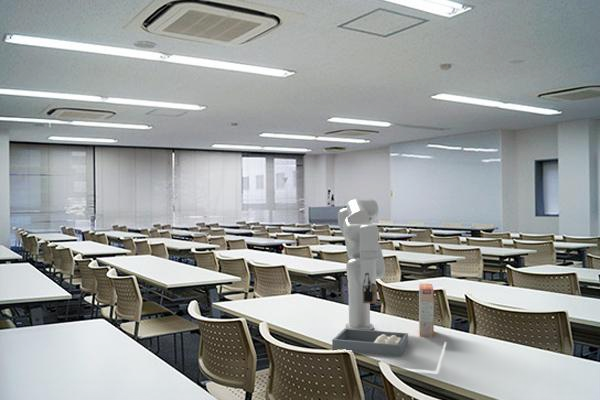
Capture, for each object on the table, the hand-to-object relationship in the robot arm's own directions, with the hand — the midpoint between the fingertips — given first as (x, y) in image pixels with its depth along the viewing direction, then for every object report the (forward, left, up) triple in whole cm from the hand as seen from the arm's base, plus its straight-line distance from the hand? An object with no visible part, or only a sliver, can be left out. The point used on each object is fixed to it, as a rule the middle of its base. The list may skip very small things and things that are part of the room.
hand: (369, 299), depth 212 cm
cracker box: (-21, +20, -18) cm, 34 cm away
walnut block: (0, 0, -1) cm, 1 cm away
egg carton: (+8, +8, -17) cm, 20 cm away
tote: (+8, +2, -18) cm, 19 cm away
